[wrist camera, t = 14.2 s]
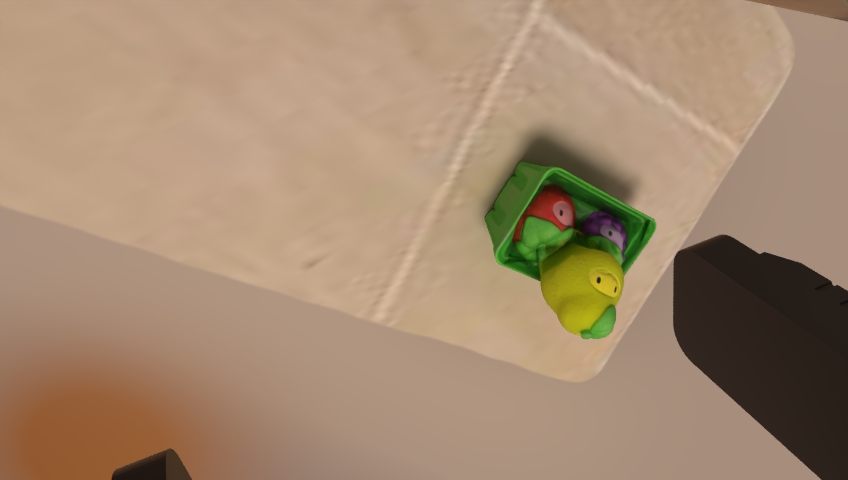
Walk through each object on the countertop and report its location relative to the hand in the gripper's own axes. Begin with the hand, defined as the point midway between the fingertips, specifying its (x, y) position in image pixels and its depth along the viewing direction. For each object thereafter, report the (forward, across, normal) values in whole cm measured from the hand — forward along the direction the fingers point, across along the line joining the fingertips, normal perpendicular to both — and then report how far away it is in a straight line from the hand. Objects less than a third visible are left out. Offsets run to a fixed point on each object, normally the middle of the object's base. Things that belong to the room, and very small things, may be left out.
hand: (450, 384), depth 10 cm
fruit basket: (+33, -17, +20) cm, 42 cm away
